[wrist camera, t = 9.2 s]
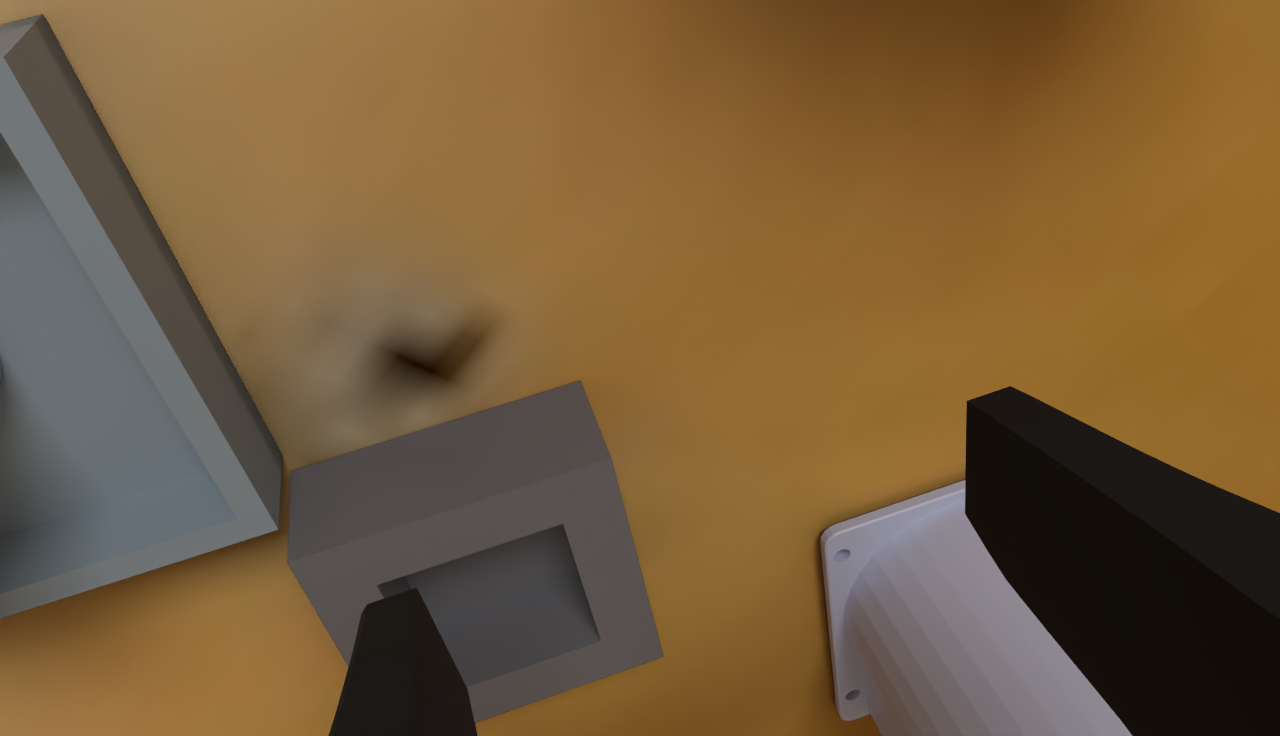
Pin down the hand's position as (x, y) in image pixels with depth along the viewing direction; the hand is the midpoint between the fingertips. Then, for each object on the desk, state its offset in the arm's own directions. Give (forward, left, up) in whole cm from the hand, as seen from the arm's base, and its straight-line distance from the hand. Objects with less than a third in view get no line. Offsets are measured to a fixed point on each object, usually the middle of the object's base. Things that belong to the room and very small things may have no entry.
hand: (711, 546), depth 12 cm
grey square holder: (-8, +4, -10) cm, 14 cm away
